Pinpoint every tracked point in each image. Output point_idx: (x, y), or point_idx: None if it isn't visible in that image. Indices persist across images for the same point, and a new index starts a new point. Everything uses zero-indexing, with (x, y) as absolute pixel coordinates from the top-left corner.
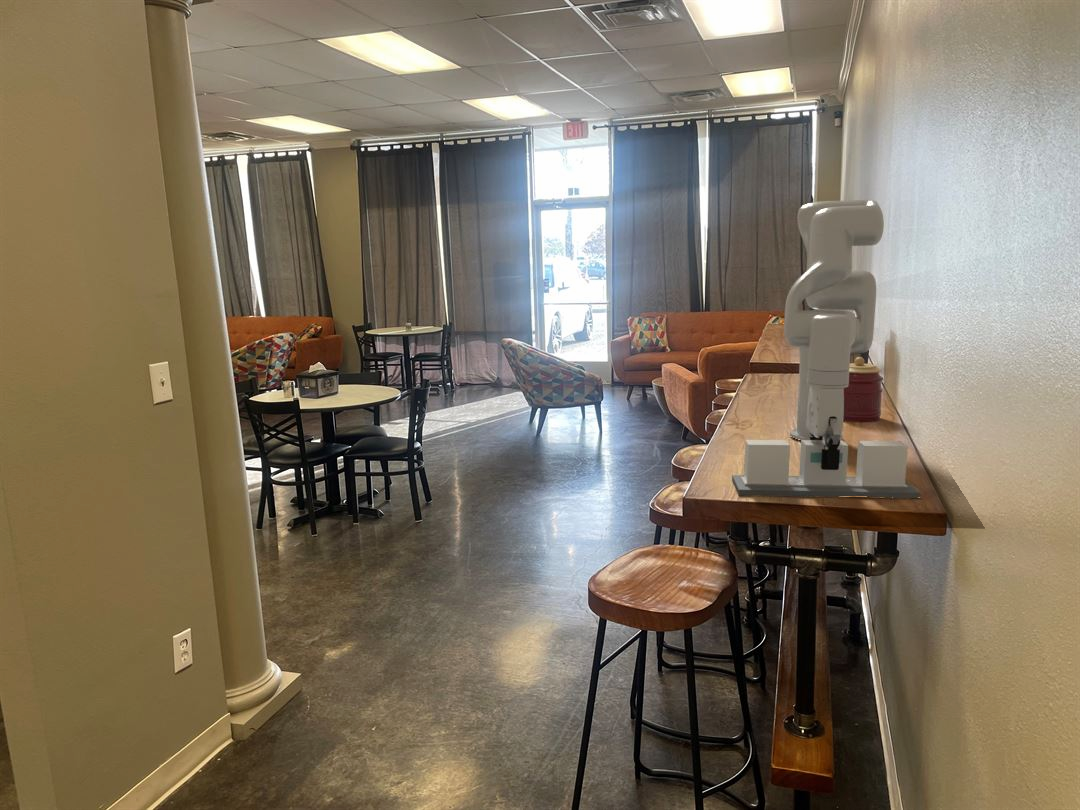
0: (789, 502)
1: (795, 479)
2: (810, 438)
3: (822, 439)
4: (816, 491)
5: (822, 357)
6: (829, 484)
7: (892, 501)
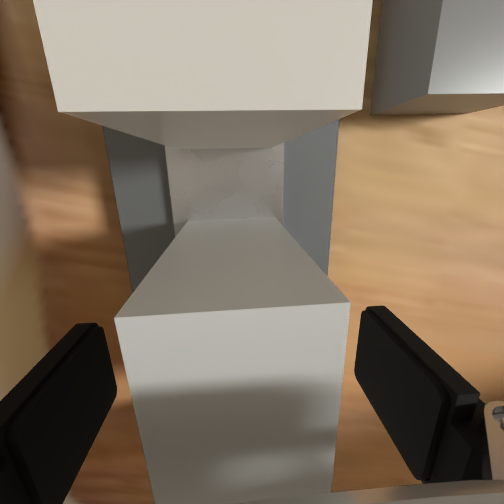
0: (32, 129)
1: (252, 196)
2: (448, 386)
3: (419, 454)
4: (126, 255)
5: None
6: None
7: (140, 438)
